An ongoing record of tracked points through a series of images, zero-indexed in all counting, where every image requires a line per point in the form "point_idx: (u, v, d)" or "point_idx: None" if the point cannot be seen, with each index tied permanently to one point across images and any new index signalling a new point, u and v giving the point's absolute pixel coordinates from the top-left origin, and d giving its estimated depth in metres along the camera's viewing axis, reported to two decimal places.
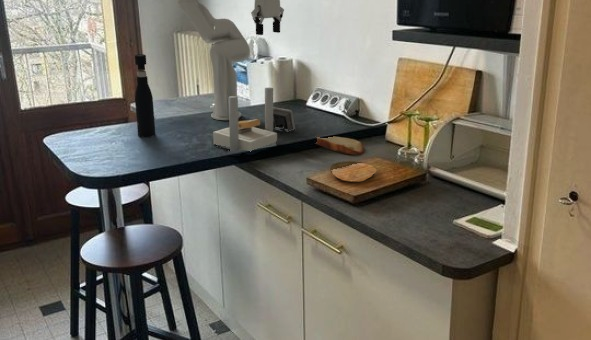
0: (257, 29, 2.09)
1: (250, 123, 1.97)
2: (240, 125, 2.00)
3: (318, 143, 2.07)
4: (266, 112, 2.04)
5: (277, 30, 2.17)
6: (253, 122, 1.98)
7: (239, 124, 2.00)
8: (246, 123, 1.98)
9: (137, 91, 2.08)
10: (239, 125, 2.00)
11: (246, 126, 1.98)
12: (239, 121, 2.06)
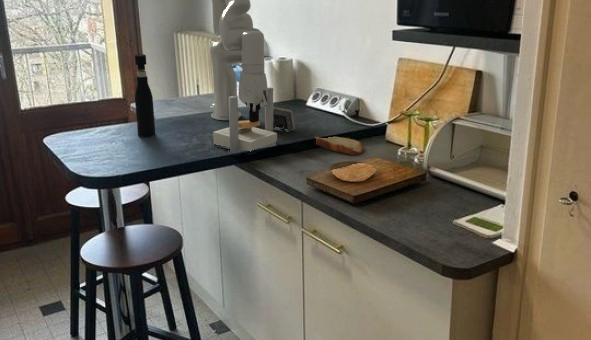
0: (257, 116, 1.97)
1: (250, 123, 1.97)
2: (240, 125, 2.00)
3: (317, 143, 2.07)
4: (266, 112, 2.04)
5: None
6: None
7: (239, 124, 2.00)
8: (246, 123, 1.98)
9: (137, 91, 2.08)
10: (239, 125, 2.00)
11: (246, 126, 1.98)
12: (239, 121, 2.06)
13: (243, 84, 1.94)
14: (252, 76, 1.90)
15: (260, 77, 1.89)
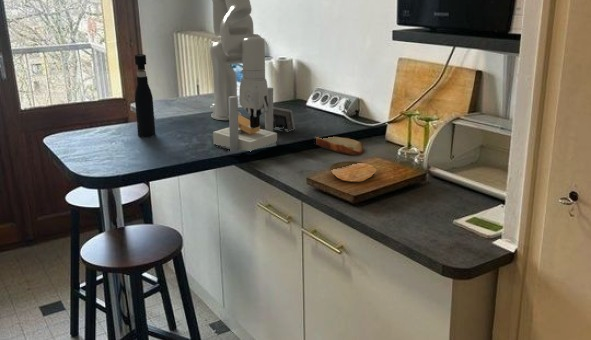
0: (257, 122, 1.97)
1: (251, 130, 1.98)
2: (240, 125, 2.00)
3: (317, 143, 2.07)
4: (266, 112, 2.04)
5: None
6: (254, 129, 1.99)
7: (240, 124, 2.00)
8: (247, 128, 1.98)
9: (137, 91, 2.08)
10: (239, 125, 2.00)
11: (246, 130, 1.99)
12: (240, 116, 2.05)
13: (243, 90, 1.94)
14: (253, 82, 1.91)
15: (260, 82, 1.90)
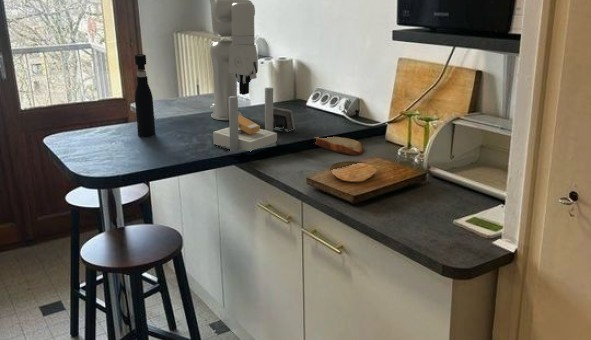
0: (247, 88, 1.97)
1: (251, 130, 1.98)
2: (240, 125, 2.00)
3: (317, 143, 2.07)
4: (266, 112, 2.04)
5: None
6: (254, 129, 1.99)
7: (240, 124, 2.00)
8: (247, 128, 1.98)
9: (137, 91, 2.08)
10: (239, 125, 2.00)
11: (246, 130, 1.99)
12: (240, 115, 2.05)
13: (233, 56, 1.93)
14: (242, 47, 1.89)
15: (249, 48, 1.89)
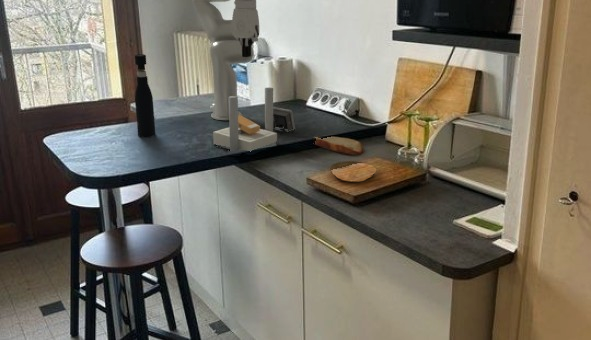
0: (249, 51, 2.09)
1: (251, 130, 1.98)
2: (240, 125, 2.00)
3: (317, 143, 2.07)
4: (266, 112, 2.04)
5: None
6: (254, 129, 1.99)
7: (240, 124, 2.00)
8: (247, 128, 1.98)
9: (137, 91, 2.08)
10: (239, 125, 2.00)
11: (246, 130, 1.99)
12: (240, 115, 2.05)
13: (236, 20, 2.05)
14: (244, 11, 2.02)
15: (252, 12, 2.01)
